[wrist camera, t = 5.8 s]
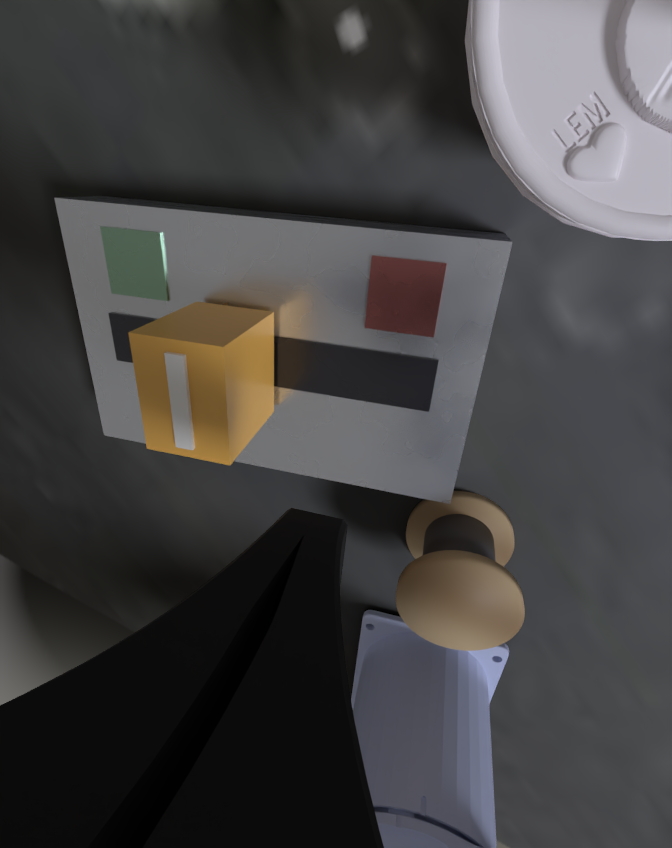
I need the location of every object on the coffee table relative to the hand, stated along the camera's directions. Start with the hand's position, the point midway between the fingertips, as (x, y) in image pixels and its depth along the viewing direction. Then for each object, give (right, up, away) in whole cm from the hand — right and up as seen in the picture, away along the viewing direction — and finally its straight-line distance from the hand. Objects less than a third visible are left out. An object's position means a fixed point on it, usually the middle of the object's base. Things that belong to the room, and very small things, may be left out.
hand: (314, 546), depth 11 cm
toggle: (-3, +5, +7) cm, 9 cm away
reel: (+7, -2, +12) cm, 14 cm away
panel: (-2, +6, +9) cm, 11 cm away
